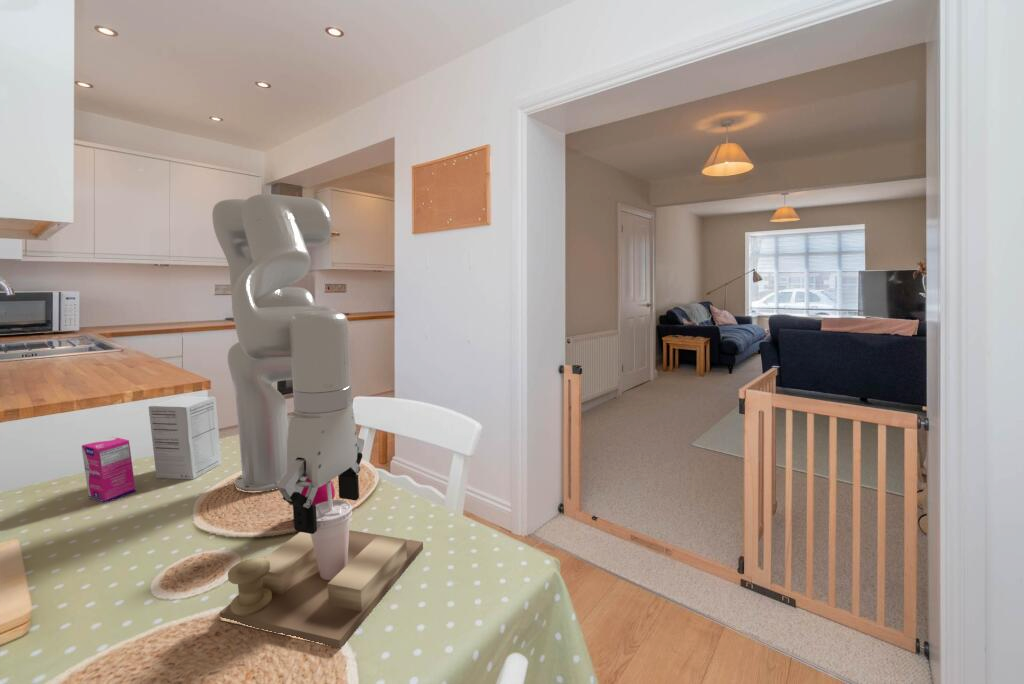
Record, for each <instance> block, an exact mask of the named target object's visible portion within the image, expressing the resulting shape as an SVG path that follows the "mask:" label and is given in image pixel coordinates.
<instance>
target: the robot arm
mask: <svg viewBox="0 0 1024 684" xmlns="http://www.w3.org/2000/svg"><path fill="white" fill-rule="evenodd" d="M212 224H213V229H214V233H215V237H216V239H217V241H218V243H219V245H220V248H221V251H222V252H223V255H224V256H225V258H226V259H225V260H226V262H227V264H228V270H229V280H230V281H229V282H230V293H231V294H230V296H231V311H232V316H233V322H234V326H235V330H236V335H237V339H238V342H237V343H234V344H233V345H232V346H231V347H230V348H229V350H228V352H227V364H228V369H229V373H230V376H231V381H232V384H233V389H234V396H235V405H236V416H237V425H238V438H239V441H238V442H239V451H240V452H239V453H240V463H241V465H240V466H241V475H239V476H238V477H236V478H235V480H234V482H233V485H234V484H235V485H234V487H235V486H236V487H237V488H239V489H241V490H244V491H267V490H272V489H276V488H278V489H276V490H278V491H279V493H280V495H281V496H282V499H283V500H284V501H285V502H286V503H288V504H289V506H292V511H293V512H292V513H293V528H294V531H296V532H297V533H299V532H304V533H309V534H314V533H315V532H316V531H317V518H316V505H315V504H312V502H313V500H314V497H315V494H316V492H317V489H318V487H321V486H323V485H324V484H326V483H327V482H329V481H332V480H333V479H336V478H337V479H338V480H337V481H338V483H337V484H338V497H339V499H341V500H342V499H343V500H349V501H358V500H359V499H360V483H359V474H360V472H361V466H360V464H361V462H362V459H363V451H364V446H365V439H364V438H359V437H358V435H357V434H358V433H357V425H356V419H355V413H354V408H353V403H352V402H353V401H352V398H353V397H352V380H351V379H352V377H351V358H350V357H351V354H350V333H349V331H350V330H349V319H348V318H347V316H346V314H344V313H343V312H340V311H337V310H336V309H334V308H332V307H330V306H326V305H325V306H324V305H316V302H315V299H314V296H313V295H312V293H311V292H310V291H309V290H308V289H306V288H304V287H297V286H296V287H295V286H290V285H293V284H295V283H297V282H299V281H300V280H302V279H304V277H305V276H306V275H307V274H308V272H309V271H310V268H311V266H312V263H311V262H312V261H311V260H312V259H311V256H310V254H309V251H308V248H314V247H317V248H318V247H321V246H324V245H326V244H327V243H329V241H330V239H331V237H332V233H333V222H332V217H331V215H330V212H329V209H328V208H327V207H326V205H325V204H324V203H323V202H322V201H320V200H319V199H316V198H311V197H303V196H295V195H293V196H292V195H285V194H284V195H283V194H277V193H276V194H274V193H259V194H254V195H252V196H250V197H248V198H247V199H245V198H241V199H240V198H239V199H238V198H234V199H233V198H232V199H231V198H230V199H224V200H221V201H218V202H217V203H216V204H215V205H214V206H213V209H212ZM288 380H289V381H291V380H292V392H293V393H292V394H293V395H292V396H293V411H294V412H293V413H292V414H291V415H290V419H289V420H288V405H287V401H286V398H285V397H284V395H283V394H282V392H280V391H279V390H278V389H276V387H274V386H273V383H277V382H283V381H288ZM288 421H289V422H288ZM306 478H309V480H311V482H308V481H305V480H306ZM304 487H307V488H309V489H308V491H307V494H306V496H303V495H302V494H301V493H302V490H303V488H304ZM272 491H273V490H272ZM267 492H268V491H267Z"/></svg>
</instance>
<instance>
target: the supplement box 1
mask: <svg viewBox="0 0 1024 684" xmlns="http://www.w3.org/2000/svg"><path fill="white" fill-rule="evenodd" d="M81 453H82V458H83V459H82V460H83V466H84V472H85V473H84V474H85V481H86V487H87V493H88V498H89V497H91V498H90V499H93V498H94V500H96V499H97V500H96V501H99V500H100V502H102V501H103V503H104V502H106V503H108V502H107V501H109V502H111V501H114V500H117V499H118V498H122V497H125V496H127V494H128V495H131V494H134V493H135V492H136V483H135V477H134V476H135V475H134V469H133V462H132V461H133V460H132V455H131V445H130V440H129V439H126V438H125V439H124V438H121V437H120V438H119V437H116V436H110V437H106V438H104V439H100V440H96V441H92V442H88V443H85V444H82V445H81ZM124 495H125V496H124ZM121 496H122V497H121ZM116 498H117V499H116ZM113 499H114V500H113ZM110 500H111V501H110Z"/></svg>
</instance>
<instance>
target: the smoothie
mask: <svg viewBox="0 0 1024 684" xmlns="http://www.w3.org/2000/svg"><path fill="white" fill-rule="evenodd" d="M327 494H328V501H326V502H322V503H319V504H317V505H316V518H317V531H316V532H315V533H314V534H310V535H311V539H312V543H313V547H314V551H315V555H316V560H317V564H318V568H319V572H320V576H321V578H322V579H325V580H332V579H333V578H334V577H335V576H336V575H337V574H338V573H339V572H340V571H341V570H342V569H343V568H344V567H345V566H347V560H348V542H349V530H350V525H351V524H350V523H351V521H350V519H351V516H352V514H353V509H352V504H351V503H350V502H349V501H346V500H344V499H343V500H342V499H341V500H340V499H333V500H332V491H331V482H330V481H329V482H327Z"/></svg>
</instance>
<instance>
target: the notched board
mask: <svg viewBox="0 0 1024 684" xmlns="http://www.w3.org/2000/svg"><path fill="white" fill-rule="evenodd" d="M423 549H424V542H423V541H418V540H413V539H408V538H406V539H405V538H400V537H394V536H389V535H387V536H386V535H383V534H382V535H381V534H376V533H369V532H362V531H358V530H357V531H356V530H350V529H349V542H348V560H347V566H345V567H344V568H343V569H342V570H341V571H340V572H339V573H338V574H337V575H336V576H335V577H334V578H333V579H332V580H325V579H322V578H321V576H320V572H319V568H318V564H317V560H316V555H315V551H314V547H313V543H312V539H311V535H310V534H309V533H304V532H297V534H295V535H294V536H292V537H291V538H290V539H288V540H287V541H286V542H285V543H283V544H281V545H280V546H279V547H277V548H276V549H275V550H274V551H272V552H271V553H269V554H267V556H265V557H252V558H248V559H244V560H242V561H239V562H238V563H236V564H235V565H233V566H232V567H231V568H230V569H229V570H228V572H227V578H228V582H230V583H231V584H234V585H237V590H238V595H236V596H235V597H234V598H233V599H232V601H231V602H230V603H229V604H228V605H226V606H225V607H224V608H223V609H222V610H220V611H219V618H220V617H222V618H226V619H230V620H234V621H237V622H240V623H242V624H245V625H248V626H252V627H255V628H259V629H264V630H268V631H272V632H276V633H283V634H285V635H291V636H296V637H300V638H303V639H307V640H310V641H314V642H319V643H323V644H325V645H328V646H331V647H330V648H332V649H337V648H339V649H338V650H341V649H342V648H343V647H344V645H345V644H346V643H347V642H348V641H349V639H350V638H352V636H353V634H354V633H355V632H356V631H357V630H358V629H359V627H360V626H361V625H362V624H363V622H364V621H365V620H366V619H367V618H368V616H369V615H370V614H371V613H372V611H373V610H374V609H375V608H376V606H377V605H378V604H379V603H380V602H381V600H382V599H383V598H384V597H385V595H387V594H388V592H389V591H390V589H391V588H392V587H393V586H394V585H395V583H396V582H397V581H398V580H399V579H400V577H401V576H402V575H403V574H404V573H405V572H406V571H407V569H408V568H409V567H410V565H411V564H413V562H414V560H416V558H417V557H418V556H419V554H420V553H421V552H422V551H423ZM328 646H327V647H328ZM342 646H343V647H342ZM341 647H342V648H341Z"/></svg>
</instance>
